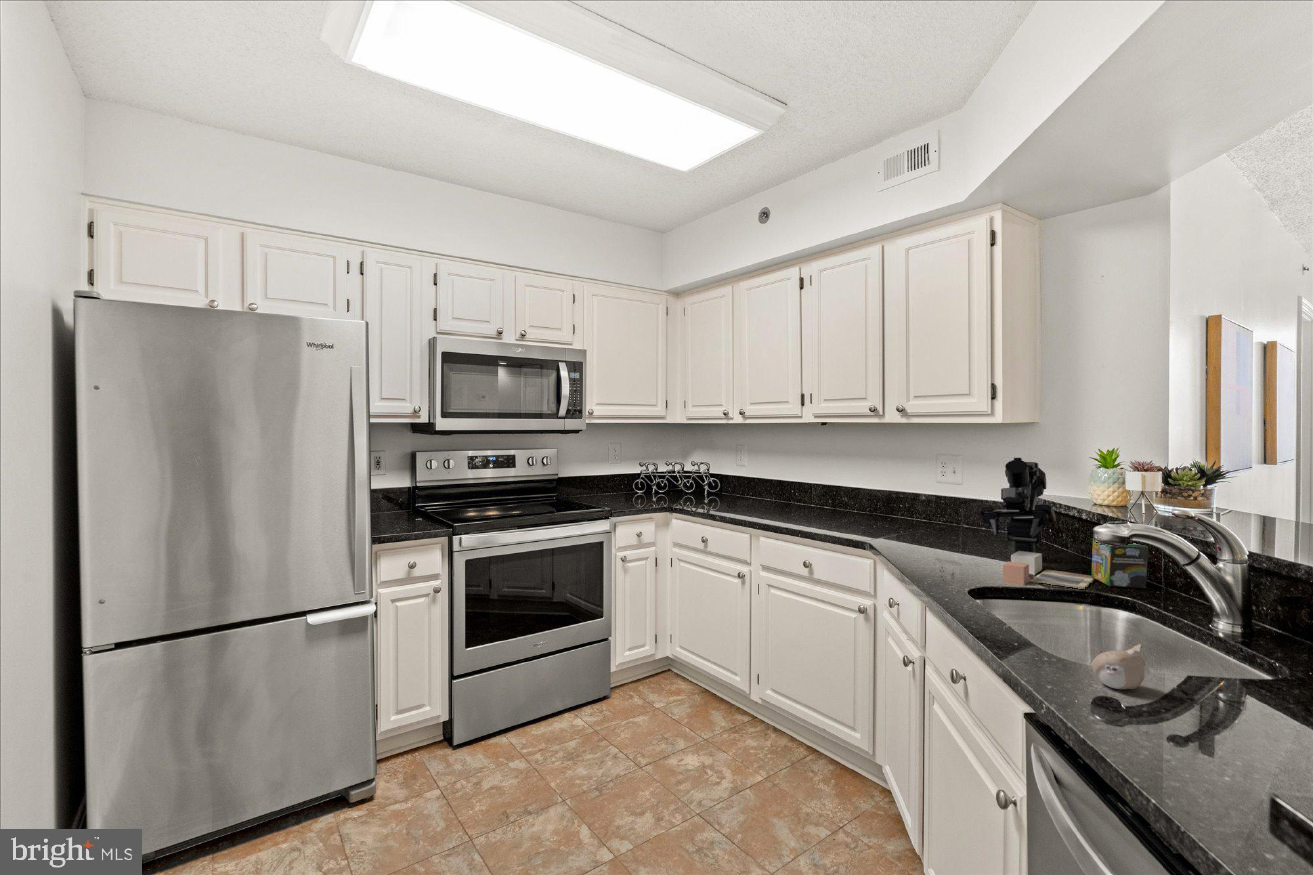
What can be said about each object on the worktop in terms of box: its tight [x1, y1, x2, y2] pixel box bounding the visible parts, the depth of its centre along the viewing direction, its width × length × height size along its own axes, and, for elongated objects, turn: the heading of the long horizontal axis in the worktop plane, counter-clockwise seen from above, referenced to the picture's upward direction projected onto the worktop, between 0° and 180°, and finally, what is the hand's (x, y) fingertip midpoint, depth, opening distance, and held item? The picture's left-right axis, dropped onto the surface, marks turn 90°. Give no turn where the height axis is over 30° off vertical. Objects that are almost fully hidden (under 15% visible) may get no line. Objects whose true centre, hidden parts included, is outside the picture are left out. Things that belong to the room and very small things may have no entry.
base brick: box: [1010, 551, 1043, 576], centre depth 177 cm, size 8×6×5 cm
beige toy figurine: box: [1091, 643, 1146, 690], centre depth 99 cm, size 7×6×8 cm
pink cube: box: [1002, 560, 1030, 586], centre depth 165 cm, size 5×5×5 cm
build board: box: [1030, 569, 1096, 590], centre depth 165 cm, size 16×12×1 cm
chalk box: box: [1090, 537, 1149, 589], centre depth 160 cm, size 9×9×15 cm
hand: (1013, 536), depth 171 cm, fingers open, 9 cm apart
